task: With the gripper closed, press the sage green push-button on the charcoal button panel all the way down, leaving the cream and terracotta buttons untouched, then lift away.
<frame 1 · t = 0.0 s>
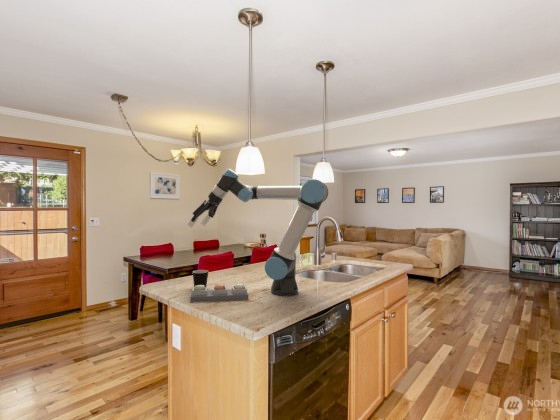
hand: (196, 225, 172), 36 cm above the counter, tool tilted 35°, fingers open, 13 cm apart
button panel: (219, 297, 159), on the counter
button terracotta: (219, 287, 159), point 5 cm above the counter, slide at 0.0 cm
button cream: (239, 286, 161), point 5 cm above the counter, slide at 0.0 cm
coffee mug: (201, 289, 175), on the counter
button sage: (199, 288, 157), point 5 cm above the counter, slide at 0.0 cm
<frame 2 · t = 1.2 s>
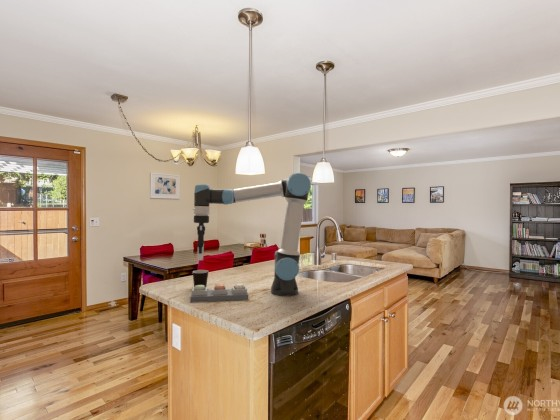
hand: (200, 258, 157), 20 cm above the counter, tool pointing down, fingers open, 11 cm apart
nothing on the counter moved.
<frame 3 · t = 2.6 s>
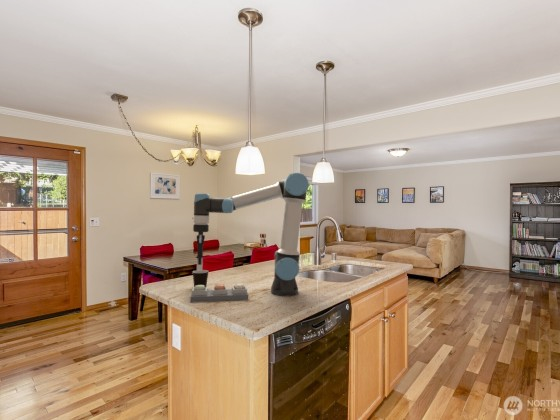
hand: (199, 270, 157), 14 cm above the counter, tool pointing down, fingers closed
nothing on the counter moved.
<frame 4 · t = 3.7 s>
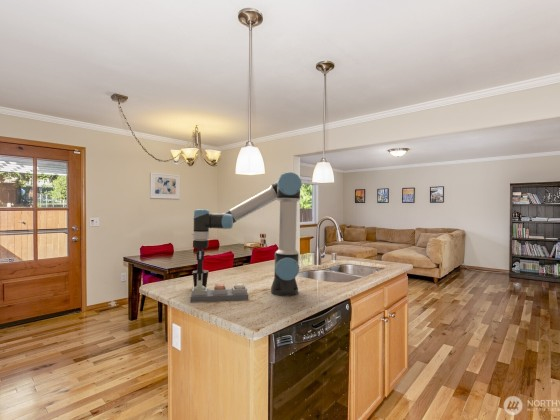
hand: (199, 286, 157), 6 cm above the counter, tool pointing down, fingers closed
button sage: (199, 289, 157), point 5 cm above the counter, slide at 0.4 cm, touching gripper
everything else where it was.
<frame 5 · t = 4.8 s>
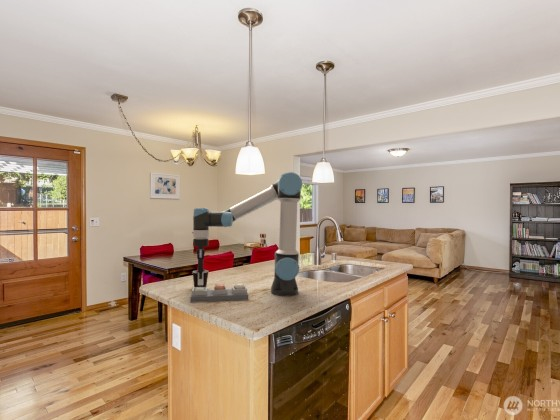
hand: (200, 284, 157), 7 cm above the counter, tool pointing down, fingers closed
button sage: (199, 291, 157), point 4 cm above the counter, slide at 1.5 cm, touching button panel
everything else where it was.
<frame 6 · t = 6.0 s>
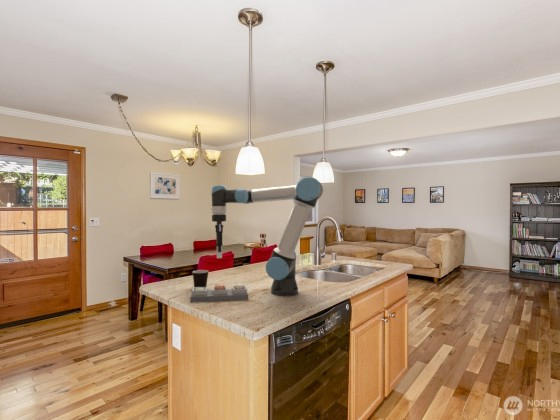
hand: (219, 257, 167), 19 cm above the counter, tool pointing down, fingers closed
nothing on the counter moved.
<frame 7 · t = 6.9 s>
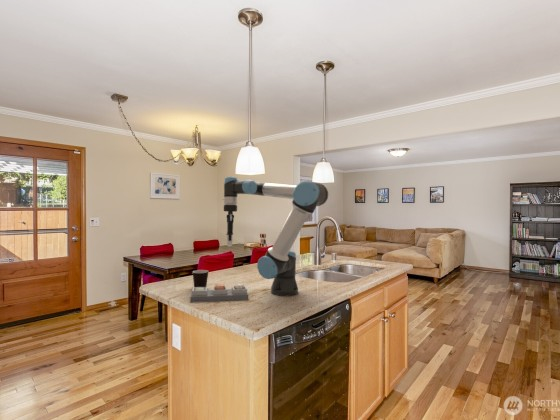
hand: (229, 246, 175), 24 cm above the counter, tool pointing down, fingers closed
nothing on the counter moved.
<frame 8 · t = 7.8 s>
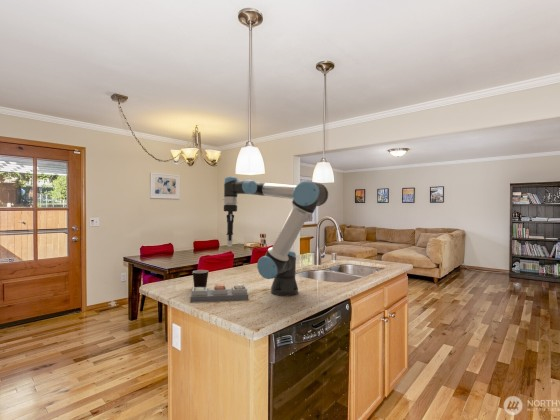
hand: (229, 246, 175), 24 cm above the counter, tool pointing down, fingers closed
nothing on the counter moved.
at the end: button sage slide at 1.5 cm; button terracotta slide at 0.0 cm; button cream slide at 0.0 cm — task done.
